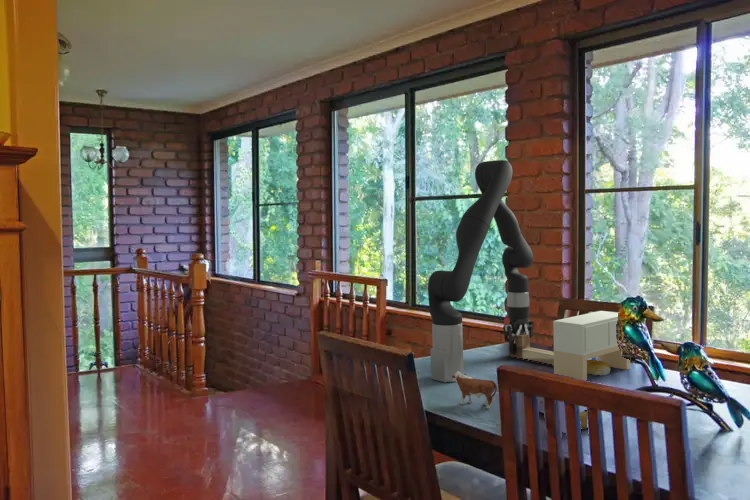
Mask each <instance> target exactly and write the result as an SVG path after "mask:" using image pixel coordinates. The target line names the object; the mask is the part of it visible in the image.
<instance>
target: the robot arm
mask: <svg viewBox="0 0 750 500" xmlns="http://www.w3.org/2000/svg"><path fill="white" fill-rule="evenodd" d="M474 177H475V182H476V185H477V187H478V189H479V192H480V193H481V196H480V197H479V198H478V199H477V200H475V202H474V203H473V204H471V206H470V207H468V208H467V210H465V211H464V213H463V214H462V217H461V218H460V219H461V220H460V222H459V224H458V226H457V229H456V231H455V239H456V240H455V241H456V245H457V251H458V256H457V259H456V263H455V264H454V267H453V269H452V270H435V271H433V272H432V273H431V274H430V277H429V279H428V284H427V295H428V309H429V315H430V317H431V323H432V324H431V325H432V327H431V329H432V334H431V335H432V348H430V352H429V353H430V379H431V380H434V381H439V382H442V383H451V382H452V383H454V382H455V381H453V378H452V375H454V374H455V373H456V372H458V371H459V372H460V373H461V374H464V343H463V342H464V339H463V336H464V335H463V314H462V312H460V311H458V310H456V309H455V308H454V307H453V306H452V302H455V303H457V302H460V301H462V300H463V298H464V297H465V296H466V294H467V292H468V289H469V286H470V283H471V279H472V275H473V272H474V268H475V265H476V262H477V259H478V257H479V254H480V251H481V248H482V246H483V245H484V242H485V239H486V237H487V235H488V232H489V229H490V227H491V224H492V222H493V219H494V222H495V225H496V227H497V230H498V233H499V236H500V240H501V242H502V244H503V245H505V246H508V247H507V248H505V249H504V251H503V252H502V257H501V260H502V265H503V269H504V272H505V275H506V279H507V297H506V299H507V300H506V303H507V305H506V306H507V307H506V308H507V318H508V319H509V323H508V324H507V325H506V324H504V325H503V327H502V329H503V335H504V342H505V343H508V352H509V351H510V353H511V354H516V344H515V343H516V340H517V338H518V337H519V334H521V333H523V334H529V336H530V339H533V336H534V325H535V324H534V321H532V320H529V318H530V316H531V315H530V294H529V277H528V276H527V275H525V274H522V273H520V272H519V270H518V268H519V269H527V268H530V267H531V266H532V265H533V262H534V253H533V250H532V249H531V247H530V245H529V244H528V242H527V241H526V239H525V237H524V236H523V234H522V231H521V229H520V224H519V222H518V219H517V217H516V216H515V214H514V212H513V211H512V210H511V209H510V207H508V206H507V204H506V203H505V202H504V201H503V198H504V195H505V193H506V192H507V190H508V189H509V186H510V184H511V181H512V179H513V167H512V164H511V163H510V162H509V161H508V160H504V159H496V160H487V161H481V162H479V163H477V165H476V167H475V170H474ZM513 333H514V334H513ZM508 336H509V339H508ZM513 337H514V339H513V340H512V338H513ZM455 383H456V382H455Z"/></svg>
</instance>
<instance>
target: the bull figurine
mask: <svg viewBox="0 0 750 500" xmlns="http://www.w3.org/2000/svg"><path fill="white" fill-rule="evenodd" d="M452 378H453V381H455V383H456V384H457V386H458V389H459V391H460V392H461V400H460V402H459V403H458V404H459V405H460V406H462V405H464V404H465V399H466V397H467V398H468V400H467V403H468V404H470V403H473V399H472V396H477V398H478V399H480V398H481V397H482V396H483V395H484V396H485V397H486V399H485V401H484V402H483V403H482V405H483V406H486V408H485V409H486V410H489V409H490V408H491V407H492V403H493V402H494V400H495V398H496V393H497V391H498V386H497V383H496V382H495V381H494V380H491V379H480V378H474V377H471V376H467V374H466V373H463V374H461V373H460V372H459V371H458V372H456V373H455V374H454V375H452Z"/></svg>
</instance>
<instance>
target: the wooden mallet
mask: <svg viewBox="0 0 750 500" xmlns="http://www.w3.org/2000/svg"><path fill="white" fill-rule="evenodd" d="M513 334H514V333H513ZM529 334H530V333H529ZM529 334H523V333H521V334H519V337H518V338H517V340H516V343H515V344H516V354H511V353H510V351H509V350H508V357H509V356H511V357H510V358H514V357H517V358H516V359H519V358H523V359H522V360H524V359H528V360H527V361H529V360H534V361H539V362H544V363H548V364H547V365H549V364H552V365H551V366H554V351H551V350H546V349H541V348H535V347H531V345H530V343H531V342H530V341H531V338H530V336H529ZM508 339H509V336H508ZM513 339H514V337H513V338H512V340H513ZM534 361H533V362H534ZM539 362H538V363H539ZM544 363H543V364H544Z"/></svg>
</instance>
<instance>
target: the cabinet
mask: <svg viewBox="0 0 750 500" xmlns="http://www.w3.org/2000/svg"><path fill="white" fill-rule="evenodd" d="M618 313H619V312H617V311H606V310H597V311H593V312H590V313H589V312H588V313H584V314H579V315H575V316H570V317H565V318H562V319H561V318H560V319H557V320H553V321H552V323H553V326H552V327H553V328H552V329H553V352H554V365H553V375H554V374H559V375H564V376H569V377H574V378H577V379H583V380H587V381H588V374H587V360H591V359H594V358H596V357H597V361H603V362H605V363H606V364H608V365H609V367H610V368H615V369H619V370H620V369H621V370H625V371H626V370H630V369H631V359H630V360H629V359H626V358H624V357H622V356H621V353H620V349H619V347H618V344H617V339H616V324H617V320H618Z"/></svg>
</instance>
